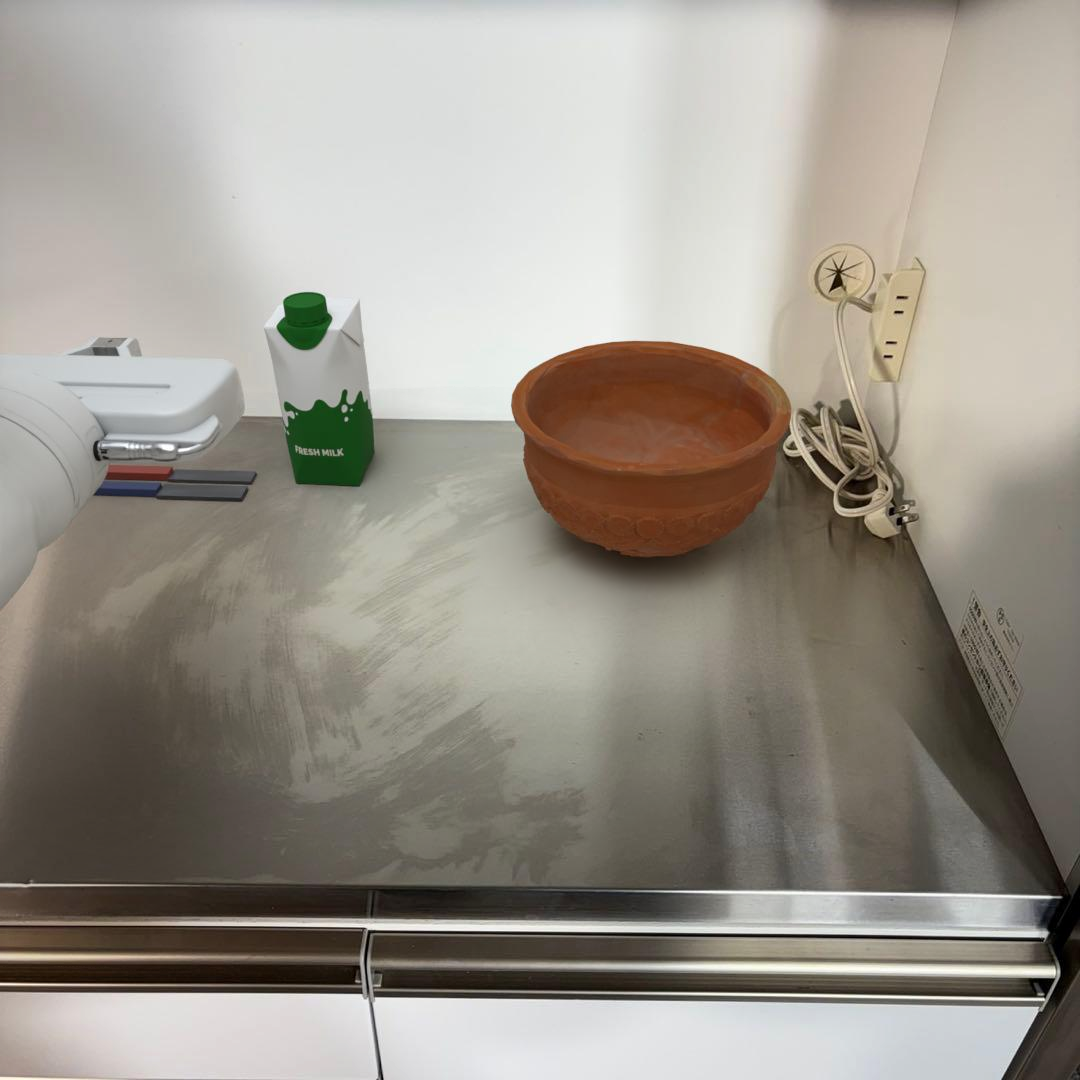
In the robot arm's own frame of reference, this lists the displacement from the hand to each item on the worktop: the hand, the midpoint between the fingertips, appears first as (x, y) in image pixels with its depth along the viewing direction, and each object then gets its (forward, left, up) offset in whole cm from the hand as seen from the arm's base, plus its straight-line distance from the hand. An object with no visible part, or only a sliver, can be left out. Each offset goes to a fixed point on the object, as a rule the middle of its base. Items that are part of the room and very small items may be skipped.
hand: (119, 347), depth 65 cm
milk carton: (+4, +30, -28) cm, 42 cm away
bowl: (+37, +20, -28) cm, 51 cm away
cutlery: (-13, +26, -28) cm, 40 cm away
